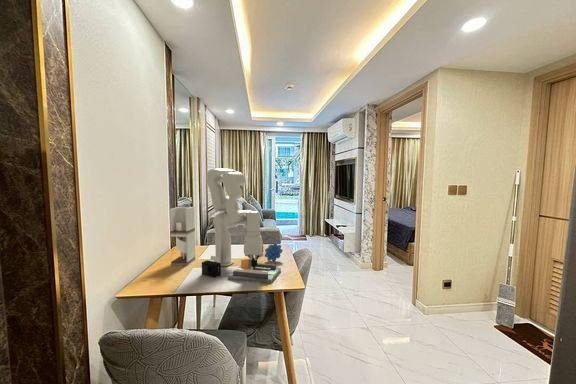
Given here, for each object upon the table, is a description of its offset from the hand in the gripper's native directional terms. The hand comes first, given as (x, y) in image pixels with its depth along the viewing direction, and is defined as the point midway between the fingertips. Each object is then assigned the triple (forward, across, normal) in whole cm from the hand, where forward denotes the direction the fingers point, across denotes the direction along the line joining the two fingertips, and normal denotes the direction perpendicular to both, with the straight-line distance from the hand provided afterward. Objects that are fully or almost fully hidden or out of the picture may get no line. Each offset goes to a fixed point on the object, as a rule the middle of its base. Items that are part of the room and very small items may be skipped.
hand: (254, 266), depth 141 cm
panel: (+5, 0, 0) cm, 5 cm away
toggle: (+2, -5, 0) cm, 5 cm away
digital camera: (+4, -24, -5) cm, 25 cm away
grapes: (+5, +3, +27) cm, 28 cm away
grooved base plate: (+3, 0, 0) cm, 3 cm away
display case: (+3, -53, +11) cm, 54 cm away
